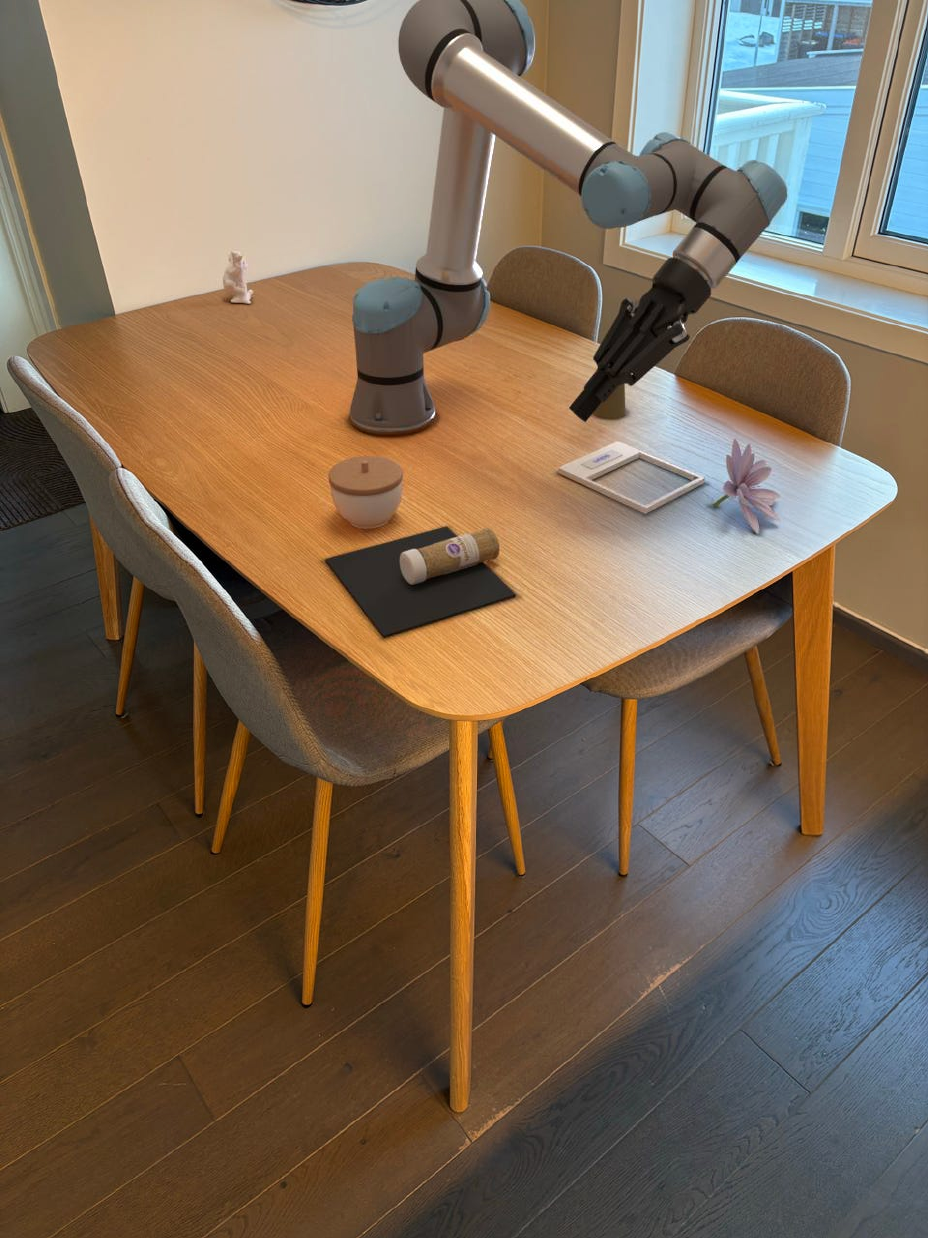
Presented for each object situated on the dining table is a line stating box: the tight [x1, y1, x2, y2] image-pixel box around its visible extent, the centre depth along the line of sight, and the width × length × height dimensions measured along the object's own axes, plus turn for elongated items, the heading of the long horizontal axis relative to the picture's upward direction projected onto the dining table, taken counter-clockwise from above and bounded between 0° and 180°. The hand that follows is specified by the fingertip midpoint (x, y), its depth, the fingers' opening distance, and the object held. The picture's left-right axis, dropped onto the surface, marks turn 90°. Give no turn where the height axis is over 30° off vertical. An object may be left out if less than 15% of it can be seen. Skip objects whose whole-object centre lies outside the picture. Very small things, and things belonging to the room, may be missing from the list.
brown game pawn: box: [592, 384, 626, 420], centre depth 167 cm, size 6×6×11 cm
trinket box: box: [327, 455, 404, 530], centre depth 137 cm, size 11×11×9 cm
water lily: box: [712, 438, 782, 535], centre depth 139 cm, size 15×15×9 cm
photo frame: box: [557, 440, 706, 515], centre depth 149 cm, size 15×1×18 cm
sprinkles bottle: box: [400, 527, 501, 585], centre depth 126 cm, size 5×5×13 cm
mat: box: [324, 525, 517, 639], centre depth 126 cm, size 20×19×1 cm
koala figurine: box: [222, 250, 254, 305], centre depth 220 cm, size 8×7×12 cm
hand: (577, 414), depth 128 cm, fingers closed
